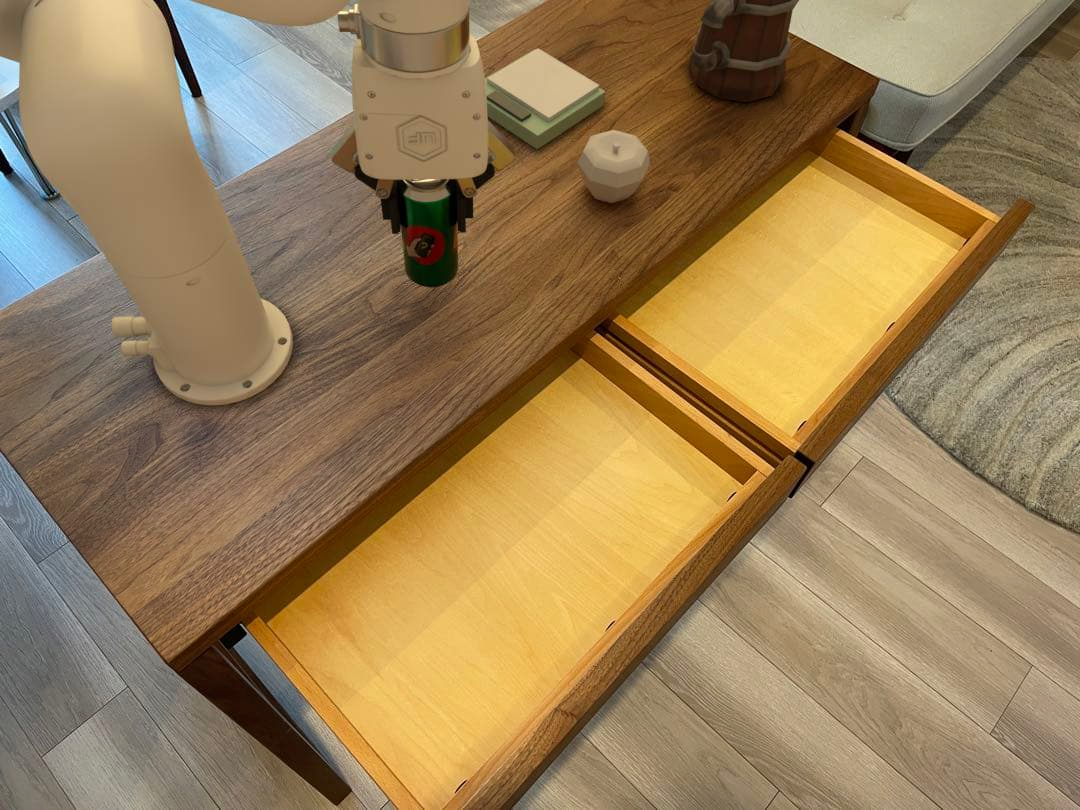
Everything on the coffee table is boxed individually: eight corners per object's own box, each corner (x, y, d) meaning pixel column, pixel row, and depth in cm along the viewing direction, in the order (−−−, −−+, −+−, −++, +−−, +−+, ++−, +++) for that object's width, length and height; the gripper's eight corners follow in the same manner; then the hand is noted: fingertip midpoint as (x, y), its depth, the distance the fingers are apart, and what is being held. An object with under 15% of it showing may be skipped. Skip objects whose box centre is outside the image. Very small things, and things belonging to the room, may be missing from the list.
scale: (537, 149, 92) (538, 131, 90) (467, 103, 96) (466, 84, 94) (603, 105, 97) (606, 87, 95) (534, 62, 101) (535, 44, 99)
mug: (726, 37, 106) (756, -81, 93) (798, 78, 101) (840, -39, 89) (649, 83, 100) (669, -36, 87) (722, 130, 95) (755, 12, 83)
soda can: (467, 280, 75) (466, 182, 65) (419, 298, 73) (410, 200, 63) (444, 246, 77) (440, 146, 67) (396, 262, 76) (385, 162, 66)
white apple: (605, 158, 92) (612, 110, 86) (658, 191, 89) (668, 144, 83) (560, 192, 88) (564, 144, 83) (614, 227, 86) (621, 180, 80)
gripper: (285, 60, 51) (329, 255, 67) (541, 61, 53) (527, 251, 68) (294, -3, 56) (333, 194, 71) (532, 0, 57) (520, 192, 73)
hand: (429, 220), depth 69 cm, fingers closed on soda can, 5 cm apart
